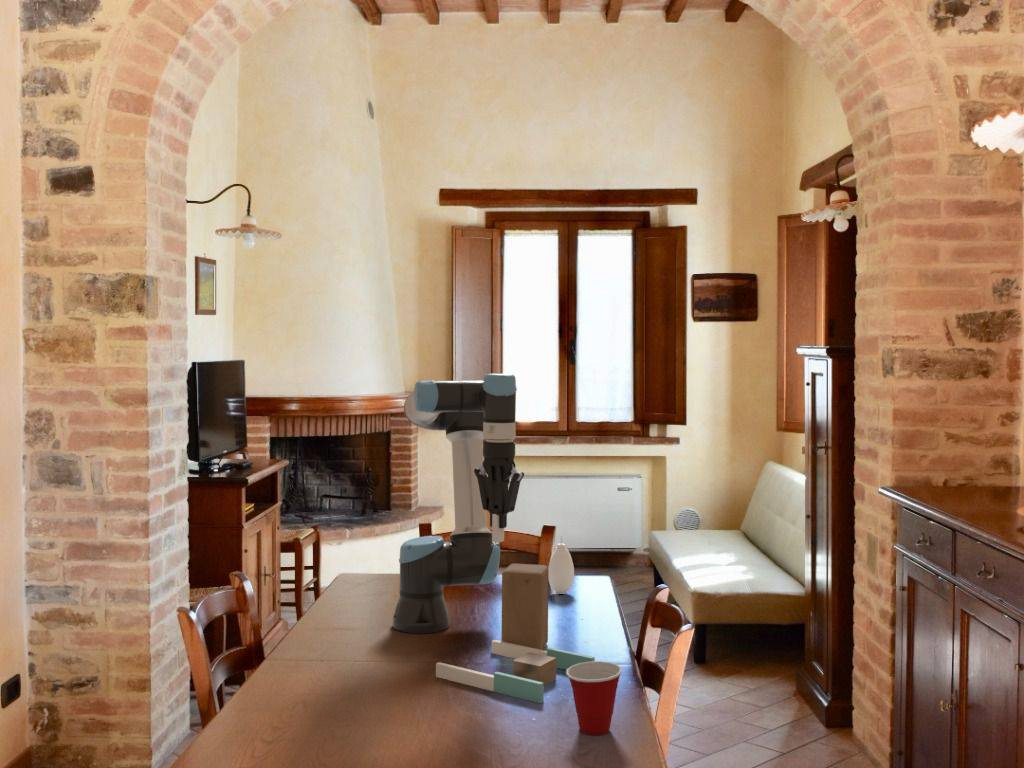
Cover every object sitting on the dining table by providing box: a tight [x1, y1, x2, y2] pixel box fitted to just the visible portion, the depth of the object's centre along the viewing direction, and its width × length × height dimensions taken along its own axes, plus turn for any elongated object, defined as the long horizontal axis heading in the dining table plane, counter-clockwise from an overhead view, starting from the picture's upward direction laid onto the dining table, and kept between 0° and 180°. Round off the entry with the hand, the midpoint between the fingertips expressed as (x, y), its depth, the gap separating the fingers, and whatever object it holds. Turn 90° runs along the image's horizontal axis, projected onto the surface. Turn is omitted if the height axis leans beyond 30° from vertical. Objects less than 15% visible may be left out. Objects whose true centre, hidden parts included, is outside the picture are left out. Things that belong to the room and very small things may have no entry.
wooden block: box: [500, 562, 549, 650], centre depth 237 cm, size 10×10×20 cm
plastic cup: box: [565, 660, 623, 736], centre depth 186 cm, size 11×11×12 cm
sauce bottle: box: [548, 535, 575, 595], centre depth 291 cm, size 8×8×18 cm
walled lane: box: [435, 639, 596, 704], centre depth 217 cm, size 28×22×4 cm
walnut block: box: [512, 652, 557, 687], centre depth 214 cm, size 7×7×5 cm
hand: (498, 541), depth 223 cm, fingers closed
